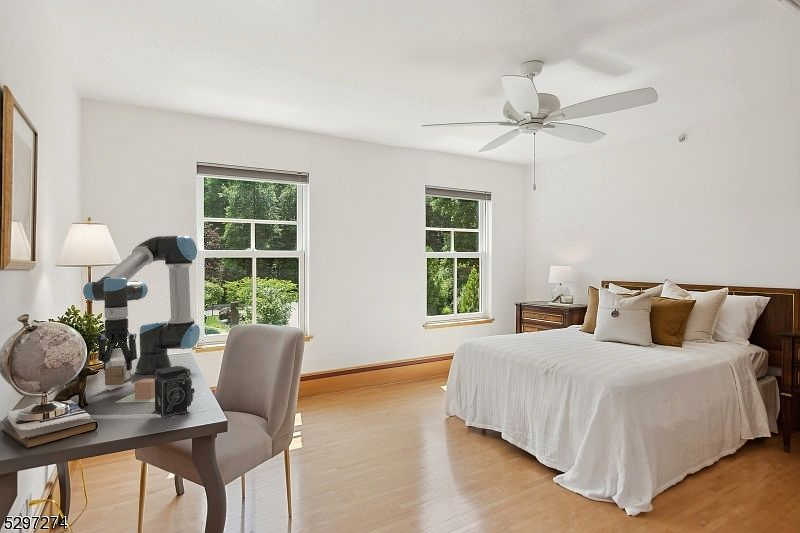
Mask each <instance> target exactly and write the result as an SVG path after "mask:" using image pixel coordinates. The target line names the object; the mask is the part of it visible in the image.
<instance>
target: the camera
mask: <svg viewBox="0 0 800 533" xmlns="http://www.w3.org/2000/svg"><path fill="white" fill-rule="evenodd" d="M154 374H155V375H156V376H155V377H154V379H155V402H154V410H155V412H157V413H158V414H159V415H161V416H163V418H167V417H170V416H171V417H172V416H176V415H180V414H186V413H188V407H190V406H191V405H192V402H193V400H194V393H195V392H196V391H195V388H194V387H193V388H192V386H193V380H192V377H191V369H190V368H188V367H186V366H183V365H175V366H171V367H169V368H164V369H158V370H155V373H154Z"/></svg>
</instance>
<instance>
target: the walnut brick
mask: <svg viewBox="0 0 800 533" xmlns="http://www.w3.org/2000/svg"><path fill="white" fill-rule="evenodd" d="M131 372H132V369H131V370H130V378H129V379H127V380H124V365H115V366H112V367H109V368H107V369H105V371H104V385H105V386H108V385H122V384H125V383H127V382H129V381H131V382H132V380H131V378H132V377H131V376H132V374H131Z"/></svg>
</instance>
